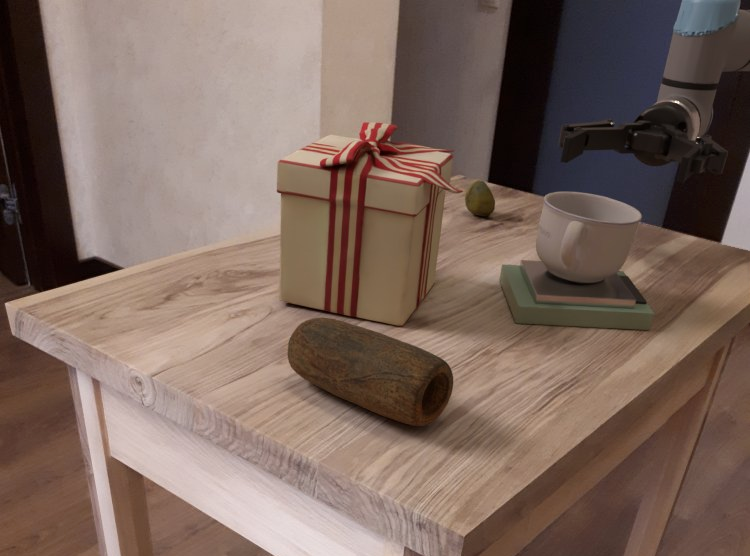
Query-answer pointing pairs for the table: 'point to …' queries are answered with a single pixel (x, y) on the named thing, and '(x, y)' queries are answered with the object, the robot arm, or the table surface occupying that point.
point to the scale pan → (574, 289)
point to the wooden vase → (371, 370)
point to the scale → (572, 307)
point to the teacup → (585, 235)
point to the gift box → (361, 223)
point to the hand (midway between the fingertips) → (622, 160)
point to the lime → (480, 199)
